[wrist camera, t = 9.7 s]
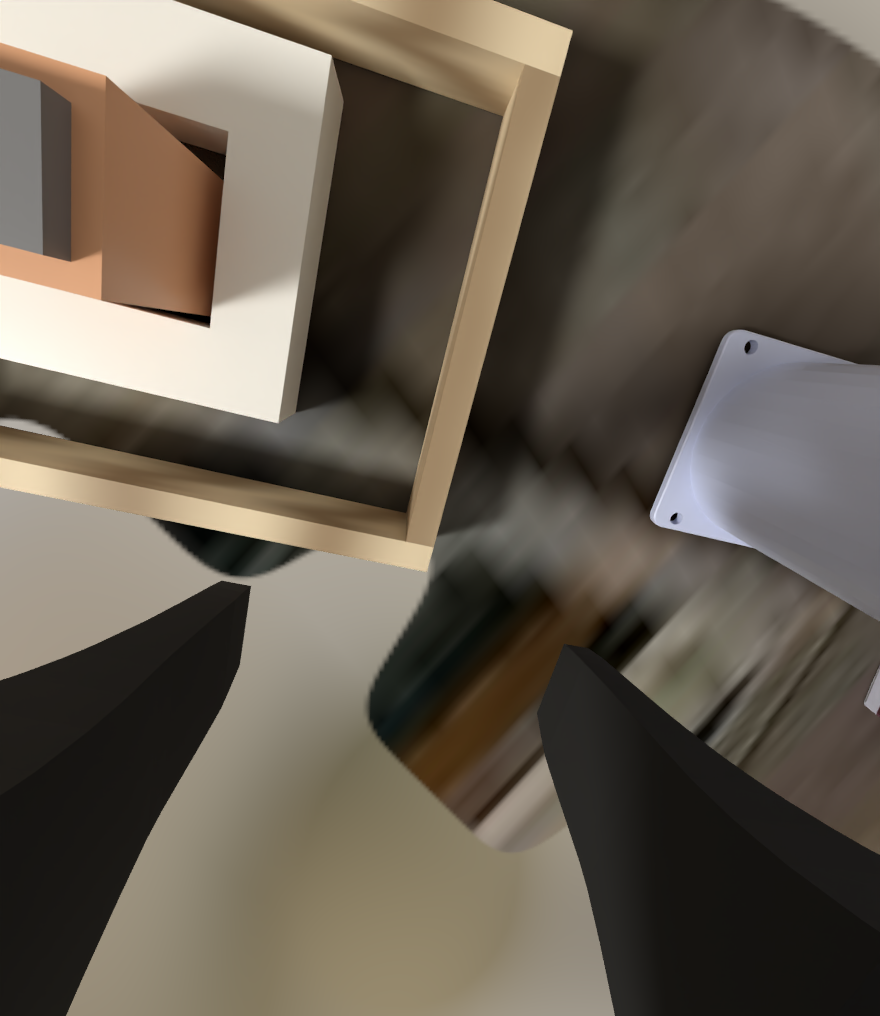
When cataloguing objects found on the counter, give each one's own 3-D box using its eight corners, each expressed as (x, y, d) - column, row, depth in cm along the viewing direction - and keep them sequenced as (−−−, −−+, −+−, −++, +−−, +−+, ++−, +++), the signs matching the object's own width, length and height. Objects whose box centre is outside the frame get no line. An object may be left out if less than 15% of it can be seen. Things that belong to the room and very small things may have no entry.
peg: (234, 191, 15) (77, 50, 8) (222, 317, 17) (76, 296, 9) (105, 153, 15) (-191, -36, 8) (102, 287, 16) (-155, 238, 9)
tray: (541, 89, 15) (572, 30, 12) (424, 539, 20) (426, 571, 17) (-177, -168, 12) (-352, -322, 9) (-110, 428, 17) (-213, 444, 14)
